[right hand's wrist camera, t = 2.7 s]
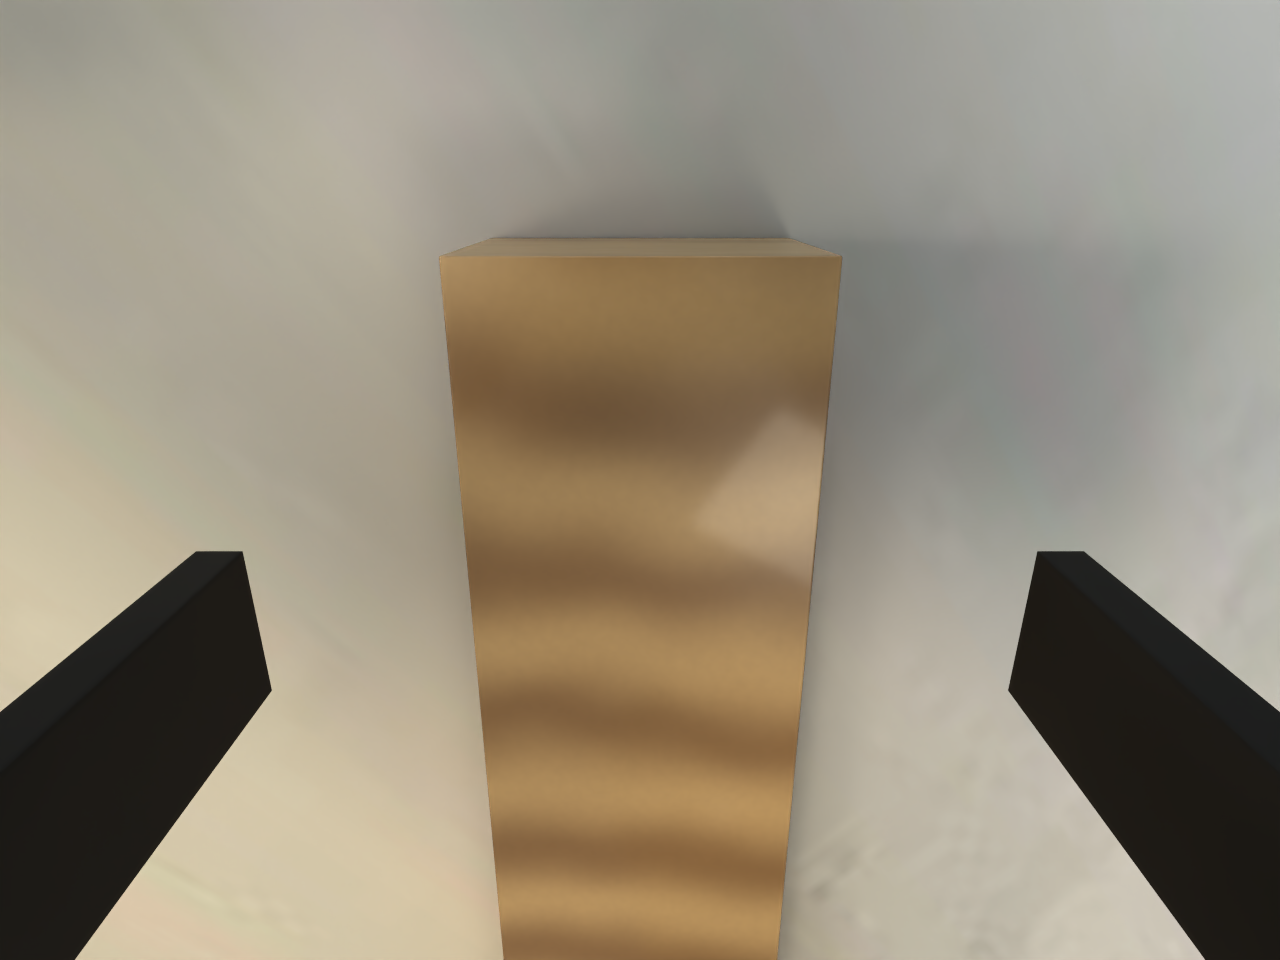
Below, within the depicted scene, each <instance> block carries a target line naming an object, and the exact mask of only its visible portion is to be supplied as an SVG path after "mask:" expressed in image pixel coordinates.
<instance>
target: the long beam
mask: <svg viewBox="0 0 1280 960" xmlns="http://www.w3.org/2000/svg"><path fill="white" fill-rule="evenodd" d="M439 263H440V274H441V285H442V295H443V306H444V317H445V328H446V339H447V350H448V361H449V371H450V382H451V393H452V404H453V415H454V426H455V436H456V447H457V458H458V469H459V480H460V491H461V501H462V512H463V523H464V534H465V545H466V556H467V567H468V577H469V588H470V599H471V610H472V621H473V632H474V642H475V653H476V664H477V675H478V686H479V697H480V707H481V718H482V729H483V740H484V751H485V762H486V772H487V783H488V794H489V805H490V816H491V827H492V838H493V848H494V859H495V870H496V881H497V892H498V903H499V913H500V924H501V935H502V946H503V957H504V960H777V955H778V945H779V934H780V923H781V912H782V902H783V891H784V880H785V869H786V858H787V848H788V837H789V826H790V815H791V805H792V794H793V783H794V772H795V762H796V751H797V740H798V729H799V718H800V708H801V697H802V686H803V675H804V665H805V654H806V643H807V632H808V621H809V611H810V600H811V589H812V578H813V568H814V557H815V546H816V535H817V525H818V514H819V503H820V492H821V481H822V471H823V460H824V449H825V438H826V428H827V417H828V406H829V395H830V384H831V374H832V363H833V352H834V341H835V331H836V320H837V309H838V298H839V288H840V277H841V266H842V256H840V255H837V254H834V253H831V252H828V251H825V250H822V249H819V248H817V247H814V246H811V245H808V244H805V243H802V242H799V241H796V240H793V239H790V238H491V239H488V240H485V241H482V242H479V243H476V244H473V245H470V246H467V247H465V248H462V249H459V250H456V251H453V252H450V253H447V254H444V255H441V256H439Z"/></svg>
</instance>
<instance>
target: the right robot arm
mask: <svg viewBox="0 0 1280 960" xmlns="http://www.w3.org/2000/svg"><path fill="white" fill-rule="evenodd" d="M271 691H272V689H271V684H270V679H269V675H268V670H267V665H266V660H265V656H264V651H263V646H262V642H261V637H260V632H259V627H258V623H257V618H256V613H255V608H254V604H253V599H252V594H251V589H250V585H249V580H248V575H247V570H246V566H245V561H244V556H243V551H196V552H195V553H194V554H192V555H191V556H190V557H189V558H188V559H186V560H185V561H184V562H183V563H181V564H180V565H179V566H178V567H177V568H175V569H174V570H173V571H172V572H170V573H169V574H168V575H167V576H166V577H164V578H163V579H162V580H161V581H159V582H158V583H157V584H156V585H155V586H153V587H152V588H151V589H150V590H148V591H147V592H146V593H145V594H144V595H142V596H141V597H140V598H139V599H138V600H136V601H135V602H134V603H133V604H131V605H130V606H129V607H128V608H127V609H125V610H124V611H123V612H122V613H120V614H119V615H118V616H117V617H116V618H114V619H113V620H112V621H111V622H109V623H108V624H107V625H106V626H105V627H103V628H102V629H101V630H100V631H98V632H97V633H96V634H95V635H94V636H92V637H91V638H90V639H89V640H88V641H86V642H85V643H84V644H83V645H81V646H80V647H79V648H78V649H77V650H75V651H74V652H73V653H72V654H70V655H69V656H68V657H67V658H66V659H64V660H63V661H62V662H61V663H59V664H58V665H57V666H56V667H55V668H53V669H52V670H51V671H50V672H49V673H47V674H46V675H45V676H44V677H42V678H41V679H40V680H39V681H38V682H36V683H35V684H34V685H33V686H31V687H30V688H29V689H28V690H27V691H25V692H24V693H23V694H22V695H20V696H19V697H18V698H17V699H16V700H14V701H13V702H12V703H11V704H9V705H8V706H7V707H6V708H5V709H3V710H2V711H1V712H0V960H75V959H76V957H77V956H78V955H79V953H80V952H81V950H82V949H83V948H84V946H85V945H86V944H87V942H88V941H89V940H90V938H91V937H92V935H93V934H94V933H95V931H96V930H97V929H98V927H99V926H100V924H101V923H102V922H103V920H104V919H105V918H106V916H107V915H108V914H109V912H110V911H111V909H112V908H113V907H114V905H115V904H116V903H117V901H118V900H119V899H120V897H121V896H122V894H123V893H124V892H125V890H126V889H127V888H128V886H129V885H130V884H131V882H132V881H133V879H134V878H135V877H136V875H137V874H138V873H139V871H140V870H141V868H142V867H143V866H144V864H145V863H146V862H147V860H148V859H149V858H150V856H151V855H152V853H153V852H154V851H155V849H156V848H157V847H158V845H159V844H160V843H161V841H162V840H163V838H164V837H165V836H166V834H167V833H168V832H169V830H170V829H171V827H172V826H173V825H174V823H175V822H176V821H177V819H178V818H179V817H180V815H181V814H182V812H183V811H184V810H185V808H186V807H187V806H188V804H189V803H190V802H191V800H192V799H193V797H194V796H195V795H196V793H197V792H198V791H199V789H200V788H201V787H202V785H203V784H204V782H205V781H206V780H207V778H208V777H209V776H210V774H211V773H212V771H213V770H214V769H215V767H216V766H217V765H218V763H219V762H220V761H221V759H222V758H223V756H224V755H225V754H226V752H227V751H228V750H229V748H230V747H231V746H232V744H233V743H234V741H235V740H236V739H237V737H238V736H239V735H240V733H241V732H242V730H243V729H244V728H245V726H246V725H247V724H248V722H249V721H250V720H251V718H252V717H253V715H254V714H255V713H256V711H257V710H258V709H259V707H260V706H261V705H262V703H263V702H264V700H265V699H266V698H267V696H268V695H269V694H270V692H271ZM1008 691H1009V692H1010V694H1011V695H1012V696H1013V698H1014V699H1015V700H1016V702H1017V703H1018V705H1019V706H1020V707H1021V709H1022V710H1023V711H1024V713H1025V714H1026V715H1027V717H1028V718H1029V720H1030V721H1031V722H1032V724H1033V725H1034V726H1035V728H1036V729H1037V730H1038V732H1039V733H1040V735H1041V736H1042V737H1043V739H1044V740H1045V741H1046V743H1047V744H1048V746H1049V747H1050V748H1051V750H1052V751H1053V752H1054V754H1055V755H1056V756H1057V758H1058V759H1059V761H1060V762H1061V763H1062V765H1063V766H1064V767H1065V769H1066V770H1067V771H1068V773H1069V774H1070V776H1071V777H1072V778H1073V780H1074V781H1075V782H1076V784H1077V785H1078V787H1079V788H1080V789H1081V791H1082V792H1083V793H1084V795H1085V796H1086V797H1087V799H1088V800H1089V802H1090V803H1091V804H1092V806H1093V807H1094V808H1095V810H1096V811H1097V812H1098V814H1099V815H1100V817H1101V818H1102V819H1103V821H1104V822H1105V823H1106V825H1107V826H1108V827H1109V829H1110V830H1111V832H1112V833H1113V834H1114V836H1115V837H1116V838H1117V840H1118V841H1119V843H1120V844H1121V845H1122V847H1123V848H1124V849H1125V851H1126V852H1127V853H1128V855H1129V856H1130V858H1131V859H1132V860H1133V862H1134V863H1135V864H1136V866H1137V867H1138V868H1139V870H1140V871H1141V873H1142V874H1143V875H1144V877H1145V878H1146V879H1147V881H1148V882H1149V884H1150V885H1151V886H1152V888H1153V889H1154V890H1155V892H1156V893H1157V894H1158V896H1159V897H1160V899H1161V900H1162V901H1163V903H1164V904H1165V905H1166V907H1167V908H1168V909H1169V911H1170V912H1171V914H1172V915H1173V916H1174V918H1175V919H1176V920H1177V922H1178V923H1179V925H1180V926H1181V927H1182V929H1183V930H1184V931H1185V933H1186V934H1187V935H1188V937H1189V938H1190V940H1191V941H1192V942H1193V944H1194V945H1195V946H1196V948H1197V949H1198V950H1199V952H1200V953H1201V955H1202V956H1203V957H1204V959H1205V960H1280V712H1279V711H1278V710H1277V709H1275V708H1274V707H1273V706H1272V705H1271V704H1269V703H1268V702H1267V701H1266V700H1264V699H1263V698H1262V697H1261V696H1260V695H1258V694H1257V693H1256V692H1255V691H1253V690H1252V689H1251V688H1250V687H1249V686H1247V685H1246V684H1245V683H1244V682H1242V681H1241V680H1240V679H1239V678H1238V677H1236V676H1235V675H1234V674H1233V673H1231V672H1230V671H1229V670H1228V669H1227V668H1225V667H1224V666H1223V665H1222V664H1221V663H1219V662H1218V661H1217V660H1216V659H1214V658H1213V657H1212V656H1211V655H1210V654H1208V653H1207V652H1206V651H1205V650H1203V649H1202V648H1201V647H1200V646H1199V645H1197V644H1196V643H1195V642H1194V641H1192V640H1191V639H1190V638H1189V637H1188V636H1186V635H1185V634H1184V633H1183V632H1182V631H1180V630H1179V629H1178V628H1177V627H1175V626H1174V625H1173V624H1172V623H1171V622H1169V621H1168V620H1167V619H1166V618H1164V617H1163V616H1162V615H1161V614H1160V613H1158V612H1157V611H1156V610H1155V609H1153V608H1152V607H1151V606H1150V605H1149V604H1147V603H1146V602H1145V601H1144V600H1142V599H1141V598H1140V597H1139V596H1138V595H1136V594H1135V593H1134V592H1133V591H1132V590H1130V589H1129V588H1128V587H1127V586H1125V585H1124V584H1123V583H1122V582H1121V581H1119V580H1118V579H1117V578H1116V577H1114V576H1113V575H1112V574H1111V573H1110V572H1108V571H1107V570H1106V569H1105V568H1103V567H1102V566H1101V565H1100V564H1099V563H1097V562H1096V561H1095V560H1094V559H1092V558H1091V557H1090V556H1089V555H1088V554H1086V553H1085V552H1084V551H1037V556H1036V561H1035V566H1034V570H1033V575H1032V580H1031V585H1030V589H1029V594H1028V599H1027V604H1026V608H1025V613H1024V618H1023V623H1022V627H1021V632H1020V637H1019V642H1018V646H1017V651H1016V656H1015V660H1014V665H1013V670H1012V675H1011V679H1010V684H1009V689H1008Z"/></svg>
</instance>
